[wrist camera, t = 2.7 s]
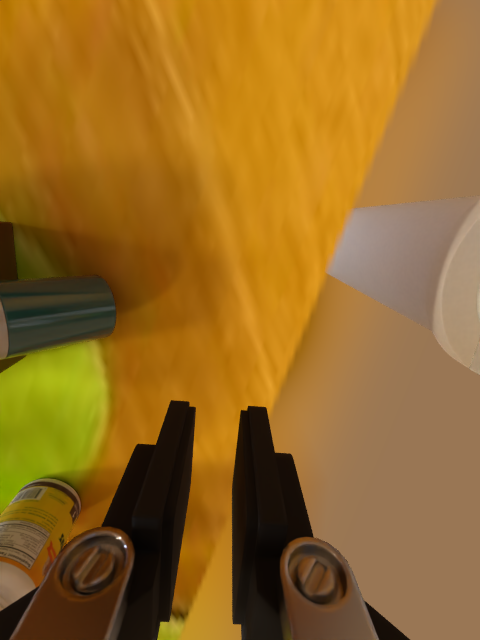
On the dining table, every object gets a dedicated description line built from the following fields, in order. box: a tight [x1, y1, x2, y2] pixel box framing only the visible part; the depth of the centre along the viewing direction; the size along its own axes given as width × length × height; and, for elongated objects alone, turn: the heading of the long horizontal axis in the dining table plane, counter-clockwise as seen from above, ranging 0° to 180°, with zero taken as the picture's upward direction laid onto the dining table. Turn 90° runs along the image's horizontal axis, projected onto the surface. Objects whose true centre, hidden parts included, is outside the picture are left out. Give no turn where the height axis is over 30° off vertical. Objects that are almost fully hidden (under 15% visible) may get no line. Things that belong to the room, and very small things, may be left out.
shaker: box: [0, 275, 116, 360], centre depth 20 cm, size 8×4×8 cm, turn 84°
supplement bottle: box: [0, 478, 81, 611], centre depth 24 cm, size 6×6×10 cm
